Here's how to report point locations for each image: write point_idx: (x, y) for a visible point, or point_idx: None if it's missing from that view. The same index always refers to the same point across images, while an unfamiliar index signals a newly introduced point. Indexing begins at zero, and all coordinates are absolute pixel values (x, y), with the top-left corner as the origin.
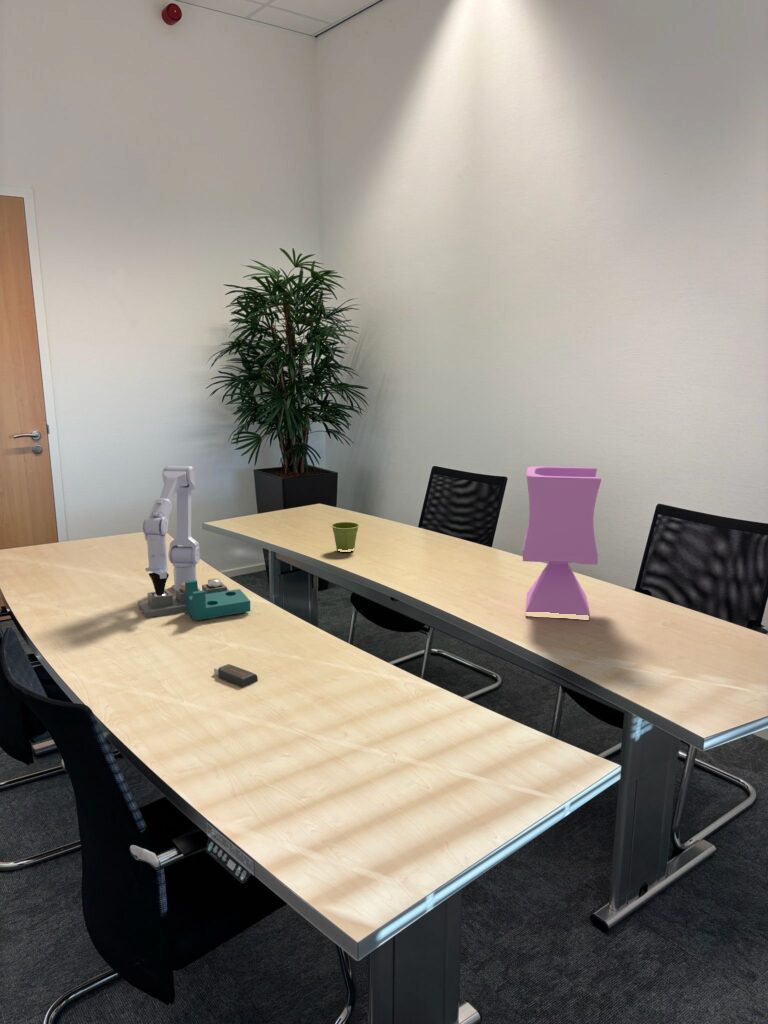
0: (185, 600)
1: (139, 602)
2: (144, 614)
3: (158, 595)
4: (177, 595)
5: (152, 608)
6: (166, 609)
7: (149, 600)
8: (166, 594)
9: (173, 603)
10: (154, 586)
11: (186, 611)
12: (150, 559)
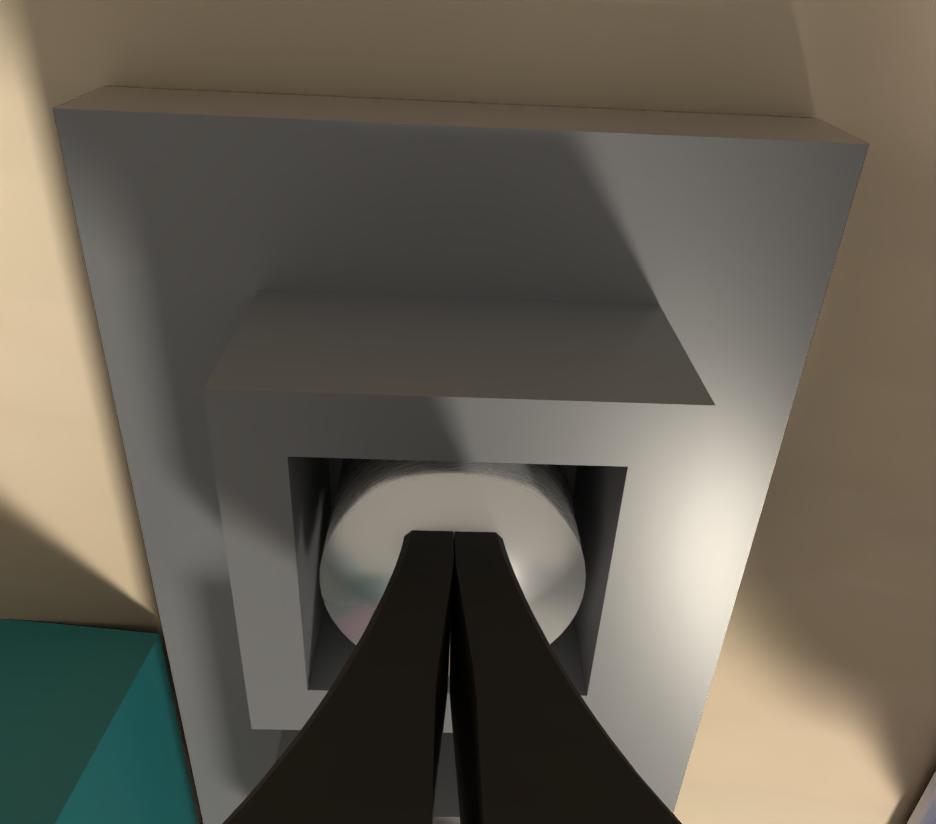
0: None
1: (779, 156)
2: (234, 97)
3: (380, 547)
4: None
5: (242, 286)
6: (132, 468)
7: (508, 337)
8: None
9: None
10: (471, 660)
11: (123, 642)
12: None
